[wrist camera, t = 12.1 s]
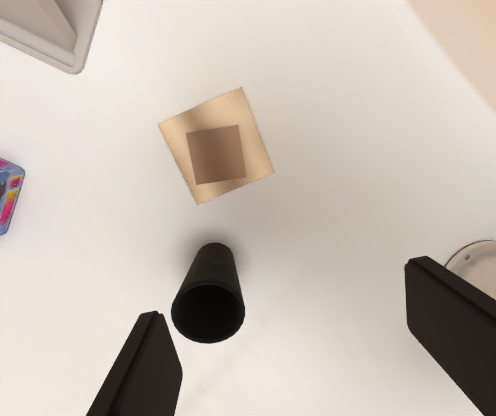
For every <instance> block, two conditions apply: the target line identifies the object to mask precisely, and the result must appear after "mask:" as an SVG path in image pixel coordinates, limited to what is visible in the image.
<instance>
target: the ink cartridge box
mask: <svg viewBox="0 0 496 416" xmlns="http://www.w3.org/2000/svg"><path fill="white" fill-rule="evenodd" d="M24 175H25V171H24V170H23V169H22V168H20V167H18V166H16V165H13V164H11V163H9V162H7V161H5V160H2V159H0V235H2V234H4V233H6V232H7V229H8V225H9V222H10V219H11V216H12V213H13V210H14V207H15V204H16V200H17V197H18V194H19V191H20V188H21V185H22V181H23V178H24Z"/></svg>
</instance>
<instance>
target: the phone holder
mask: <svg viewBox="0 0 496 416" xmlns="http://www.w3.org/2000/svg"><path fill="white" fill-rule="evenodd" d="M102 5H103V3H102V0H0V41H2V42H4V43H6V44H8V45H10V46H12V47H15V48H17V49H19V50H21V51H23V52H25V53H27V54H29V55H31V56H33V57H36V58H38V59H40V60H42V61H44V62H46V63H48V64H50V65H52V66H54V67H56V68H59V69H61V70H63V71H65V72H67V73H70V74H78V73H80V72H81V71H82V70H83V69H84V66H85V63H86V59H87V56H88V53H89V49H90V46H91V42H92V39H93V35H94V32H95V29H96V25H97V22H98V18H99V15H100V12H101V8H102Z"/></svg>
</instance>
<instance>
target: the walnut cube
mask: <svg viewBox="0 0 496 416" xmlns="http://www.w3.org/2000/svg"><path fill="white" fill-rule="evenodd" d="M186 138H187V143H188V147H189V152H190V157H191V162H192V167H193V172H194V177H195V181H196V185H200V184H207V183H213V182H219V181H226V180H232V179H239V178H245V177H246V171H245V165H244V158H243V151H242V144H241V138H240V131H239V125H234V126H228V127H221V128H214V129H208V130H201V131H195V132H188V133H186Z"/></svg>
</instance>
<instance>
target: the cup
mask: <svg viewBox="0 0 496 416" xmlns="http://www.w3.org/2000/svg"><path fill="white" fill-rule="evenodd" d="M171 317H172V321H173V323H174V326H175V327H176V329H177V330H178V331H179V332H180V333H181V334H182V335H183V336H185V337H186V338H188V339H190V340H192V341H195V342H199V343H208V344H210V343H217V342H221V341H223V340H226V339H228V338H229V337H231V336H233V335H234V334H235V333H236V332H237V331H238V330H239V329H240V327H241V325H242V324H243V321H244V317H245V306H244V302H243V297H242V293H241V288H240V284H239V279H238V275H237V270H236V266H235V261H234V257H233V254H232V252H231V250H230V249H229V248H228V247H226V246H225V245H223V244H220V243H209V244H207V245H205V246H203V247H202V248H201V249H200V250H199V251H198V253H197V255H196V257H195V259H194V261H193V263H192V265H191V267H190V269H189V271H188V273H187V275H186V277H185V279H184V281H183V283H182V285H181V287H180V289H179V291H178V293H177V295H176V297H175V299H174V301H173V303H172V308H171Z"/></svg>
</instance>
